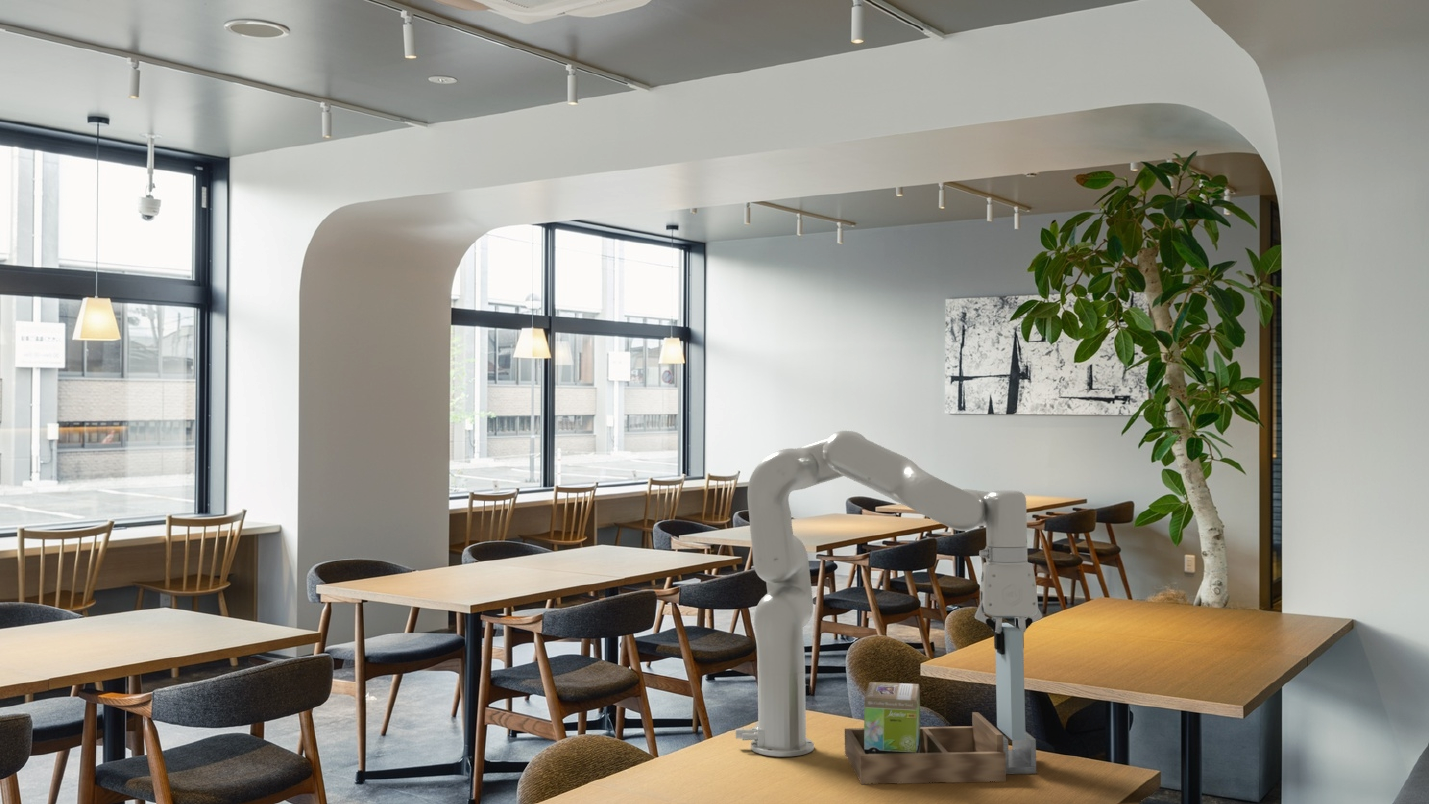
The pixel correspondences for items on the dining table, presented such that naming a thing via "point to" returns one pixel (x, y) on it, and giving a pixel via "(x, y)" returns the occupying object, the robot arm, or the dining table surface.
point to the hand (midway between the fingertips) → (1009, 652)
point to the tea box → (892, 718)
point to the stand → (1021, 755)
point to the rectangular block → (1011, 684)
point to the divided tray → (935, 756)
